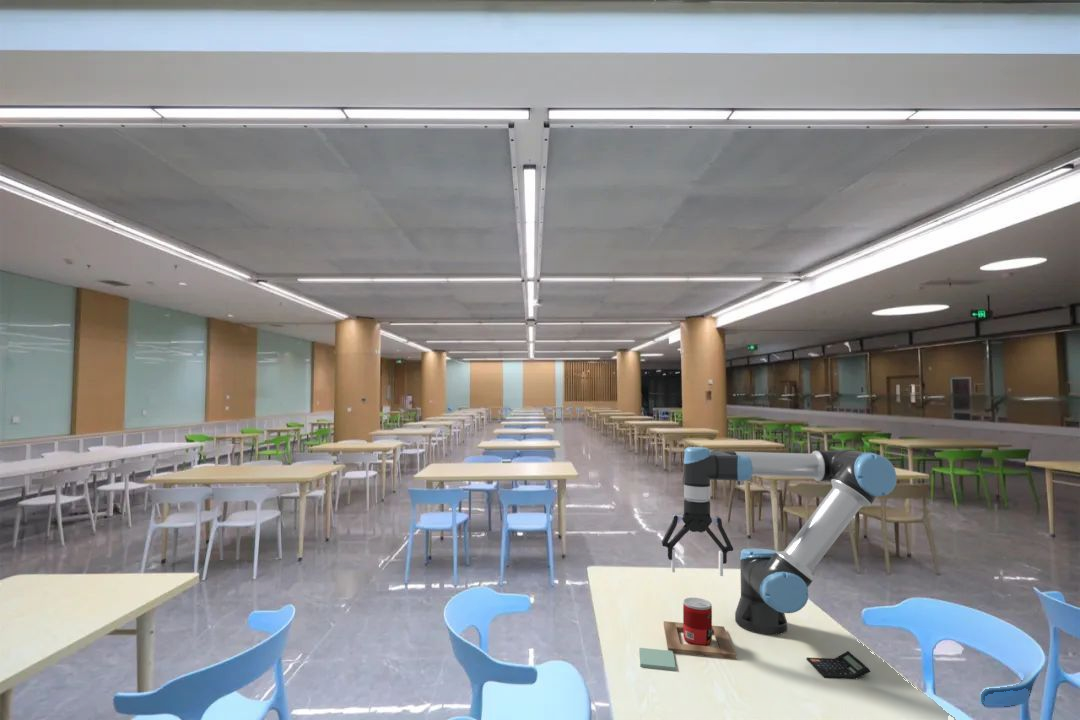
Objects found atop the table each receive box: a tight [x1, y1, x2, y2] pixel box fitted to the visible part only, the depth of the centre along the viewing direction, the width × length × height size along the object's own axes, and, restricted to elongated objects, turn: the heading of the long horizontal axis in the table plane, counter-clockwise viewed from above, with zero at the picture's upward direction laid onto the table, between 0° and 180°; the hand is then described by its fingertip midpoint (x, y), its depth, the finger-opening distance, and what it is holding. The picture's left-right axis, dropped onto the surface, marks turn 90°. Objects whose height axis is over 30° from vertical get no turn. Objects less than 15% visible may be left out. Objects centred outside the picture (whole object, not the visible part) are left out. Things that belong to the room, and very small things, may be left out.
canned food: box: [682, 597, 713, 646], centre depth 151 cm, size 8×8×11 cm
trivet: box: [638, 647, 677, 671], centre depth 139 cm, size 9×9×1 cm
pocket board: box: [663, 620, 737, 660], centre depth 151 cm, size 18×18×1 cm
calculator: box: [806, 650, 871, 680], centre depth 136 cm, size 9×12×3 cm
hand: (696, 572), depth 152 cm, fingers open, 13 cm apart
